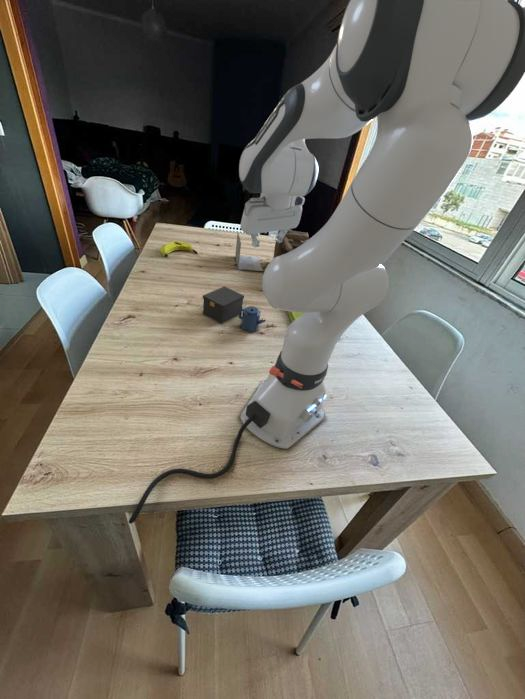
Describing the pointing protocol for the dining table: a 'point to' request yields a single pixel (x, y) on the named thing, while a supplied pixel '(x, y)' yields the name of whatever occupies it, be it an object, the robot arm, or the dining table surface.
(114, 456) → the dining table surface
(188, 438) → the dining table surface
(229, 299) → the black box
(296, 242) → the ornamental box
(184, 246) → the banana
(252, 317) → the teapot
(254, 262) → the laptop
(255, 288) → the dining table surface
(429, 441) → the dining table surface
